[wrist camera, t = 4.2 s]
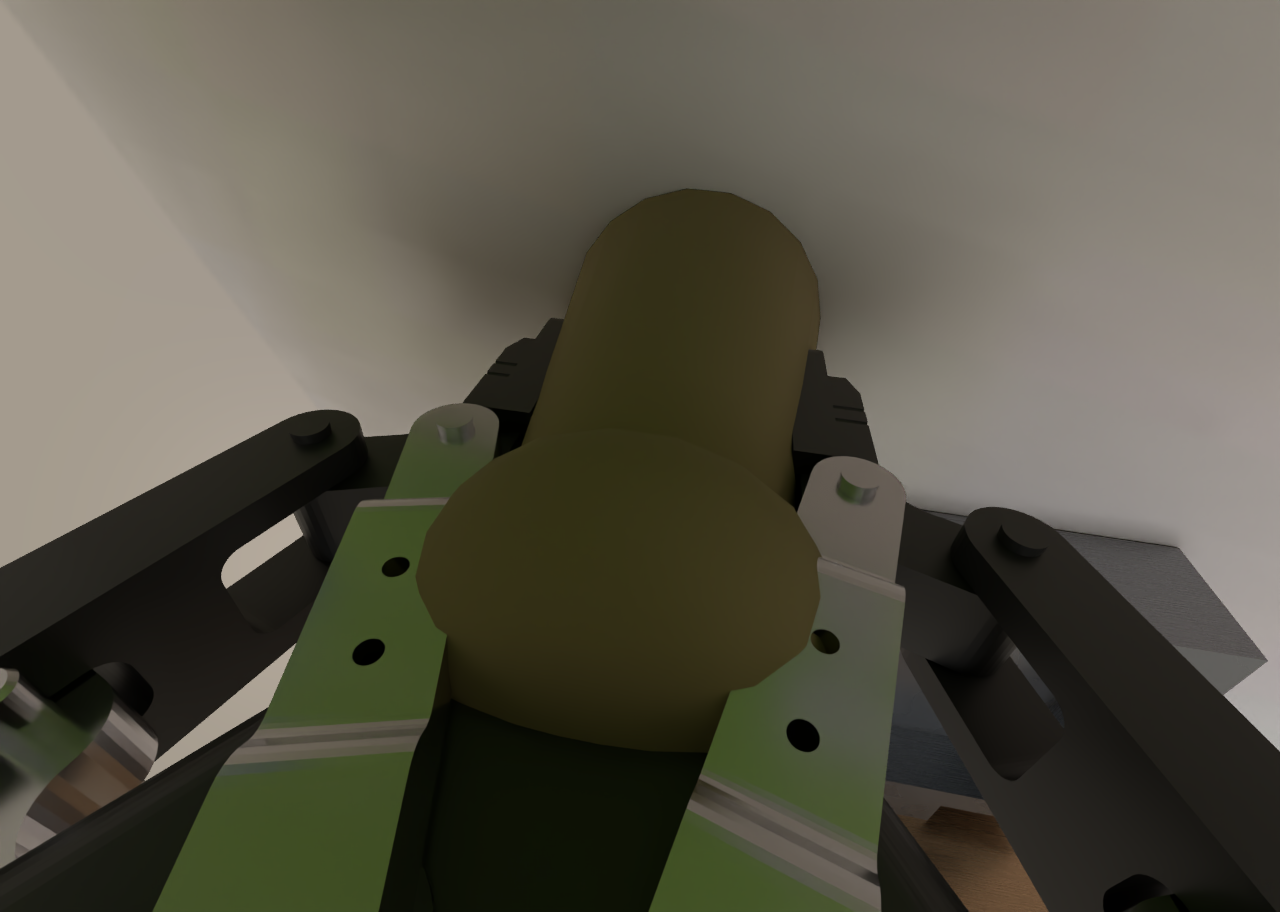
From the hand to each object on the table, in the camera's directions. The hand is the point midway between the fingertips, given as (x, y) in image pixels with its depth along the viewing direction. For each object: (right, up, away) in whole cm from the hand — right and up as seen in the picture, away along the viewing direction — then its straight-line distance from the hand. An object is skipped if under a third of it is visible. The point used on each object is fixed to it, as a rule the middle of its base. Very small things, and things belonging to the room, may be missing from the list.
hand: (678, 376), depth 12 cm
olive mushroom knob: (+1, +2, +2) cm, 3 cm away
